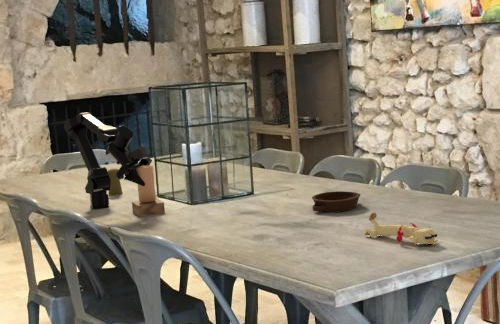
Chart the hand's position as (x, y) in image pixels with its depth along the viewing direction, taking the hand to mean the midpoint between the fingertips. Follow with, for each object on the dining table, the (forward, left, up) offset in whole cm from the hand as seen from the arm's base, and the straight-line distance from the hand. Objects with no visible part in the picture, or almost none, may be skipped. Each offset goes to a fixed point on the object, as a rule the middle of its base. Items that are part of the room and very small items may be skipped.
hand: (149, 183), depth 334 cm
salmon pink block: (-1, +1, -7) cm, 7 cm away
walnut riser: (-1, +1, -11) cm, 11 cm away
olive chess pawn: (-3, +49, -11) cm, 50 cm away
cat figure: (+53, -94, -12) cm, 109 cm away
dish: (+59, -39, -12) cm, 72 cm away
